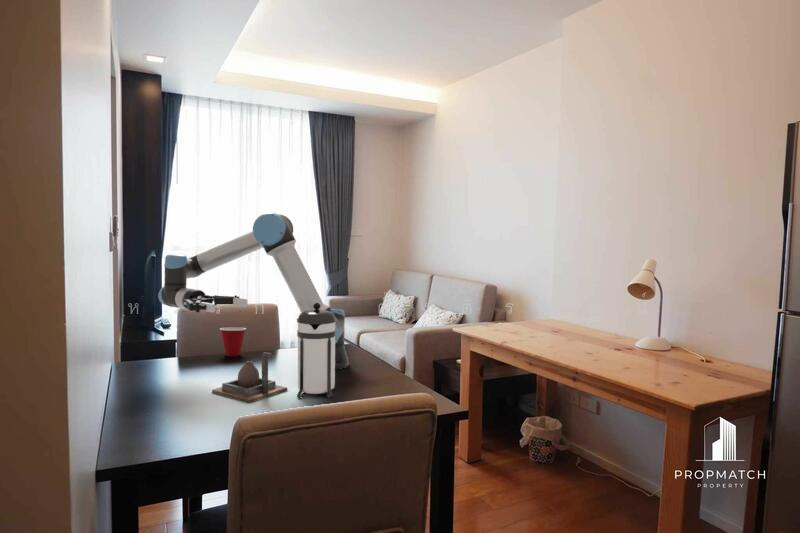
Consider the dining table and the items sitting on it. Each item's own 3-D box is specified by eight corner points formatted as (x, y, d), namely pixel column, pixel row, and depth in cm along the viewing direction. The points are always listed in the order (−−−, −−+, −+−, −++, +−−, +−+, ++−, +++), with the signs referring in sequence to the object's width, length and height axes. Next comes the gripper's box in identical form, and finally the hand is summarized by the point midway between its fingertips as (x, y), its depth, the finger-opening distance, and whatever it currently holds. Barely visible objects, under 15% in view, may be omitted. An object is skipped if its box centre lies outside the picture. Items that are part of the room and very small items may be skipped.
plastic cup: (250, 352, 226) (250, 325, 225) (240, 358, 215) (240, 330, 215) (226, 351, 227) (226, 325, 226) (215, 357, 216) (215, 329, 216)
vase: (240, 385, 172) (240, 359, 172) (261, 385, 173) (261, 359, 172) (235, 391, 165) (235, 364, 165) (257, 391, 166) (257, 364, 165)
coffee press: (350, 393, 169) (351, 303, 167) (310, 403, 157) (311, 307, 156) (319, 382, 181) (320, 298, 179) (280, 391, 169) (280, 301, 168)
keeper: (250, 381, 180) (250, 342, 180) (288, 390, 170) (288, 349, 170) (212, 392, 167) (212, 350, 166) (250, 403, 157) (250, 358, 156)
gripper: (220, 305, 195) (258, 311, 184) (159, 314, 174) (199, 322, 163) (220, 285, 195) (258, 291, 184) (159, 292, 174) (198, 299, 163)
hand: (230, 305), depth 173 cm, fingers open, 13 cm apart
